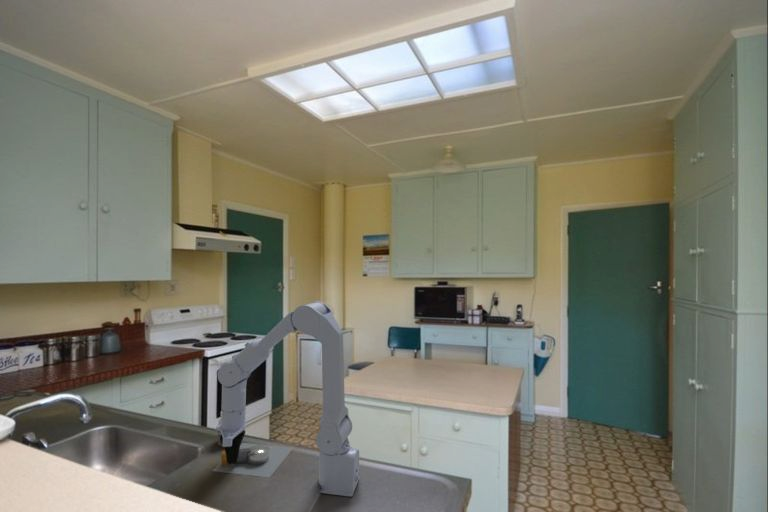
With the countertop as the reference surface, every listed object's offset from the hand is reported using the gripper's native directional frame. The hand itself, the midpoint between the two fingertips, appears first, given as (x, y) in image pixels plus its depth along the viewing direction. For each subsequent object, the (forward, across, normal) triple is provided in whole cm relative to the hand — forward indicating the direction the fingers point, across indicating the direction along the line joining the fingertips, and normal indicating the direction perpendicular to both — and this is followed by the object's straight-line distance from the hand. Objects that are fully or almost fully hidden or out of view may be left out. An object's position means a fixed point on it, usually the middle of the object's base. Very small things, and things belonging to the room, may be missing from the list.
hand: (232, 462), depth 99 cm
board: (+2, -3, +5) cm, 6 cm away
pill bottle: (+3, -14, -4) cm, 15 cm away
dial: (+1, -2, +3) cm, 4 cm away
